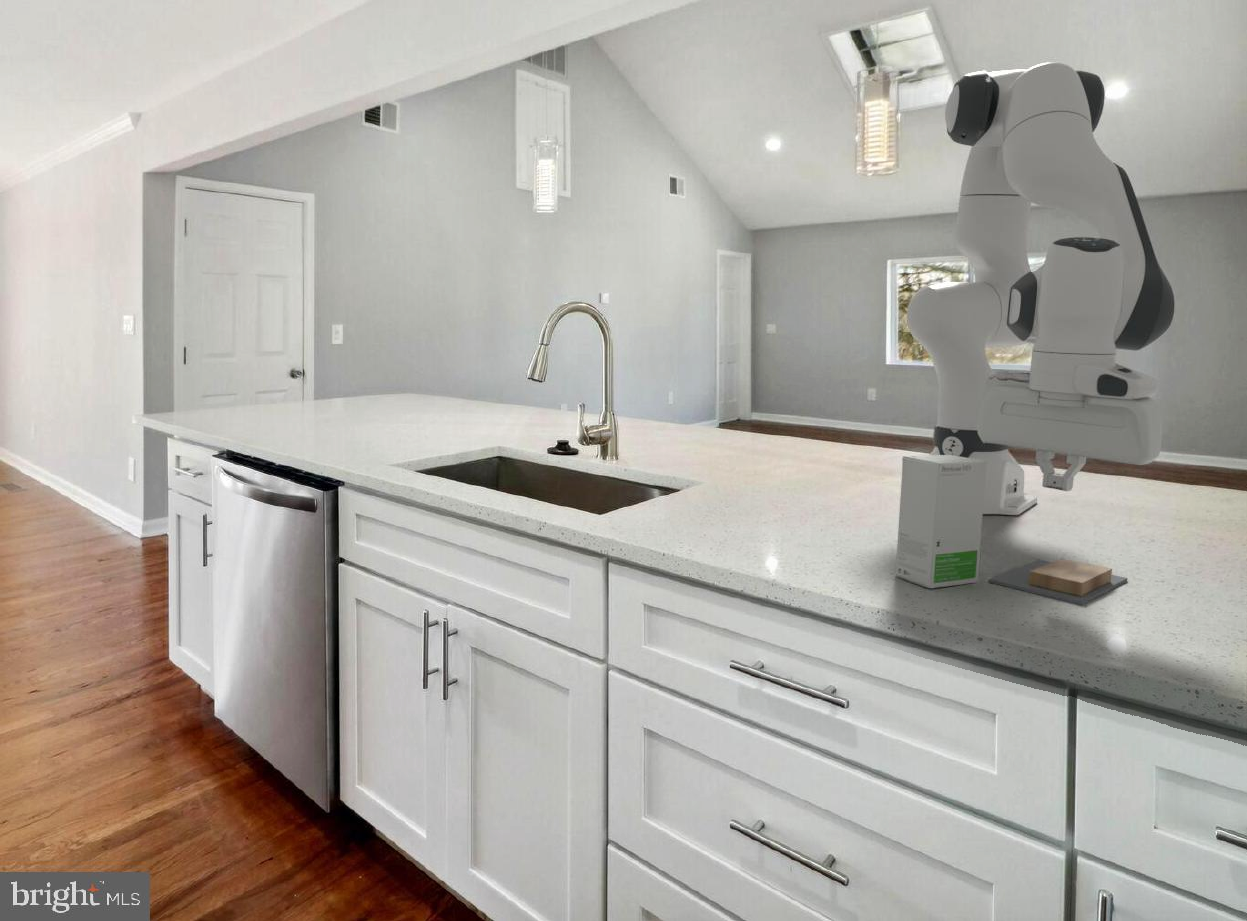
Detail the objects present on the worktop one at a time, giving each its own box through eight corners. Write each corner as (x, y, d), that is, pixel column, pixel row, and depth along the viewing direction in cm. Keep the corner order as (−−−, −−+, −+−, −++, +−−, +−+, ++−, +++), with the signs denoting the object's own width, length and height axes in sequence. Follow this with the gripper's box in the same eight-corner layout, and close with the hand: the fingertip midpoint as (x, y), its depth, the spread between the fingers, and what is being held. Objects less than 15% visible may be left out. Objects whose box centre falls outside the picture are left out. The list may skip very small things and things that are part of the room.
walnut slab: (1061, 558, 106) (1112, 568, 102) (1060, 571, 106) (1110, 582, 102) (1029, 571, 100) (1082, 582, 96) (1028, 584, 101) (1080, 596, 96)
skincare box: (929, 590, 100) (937, 463, 97) (891, 575, 106) (898, 455, 103) (980, 582, 103) (990, 459, 100) (941, 568, 109) (949, 451, 106)
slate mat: (1037, 562, 112) (1038, 559, 112) (1127, 581, 104) (1127, 578, 104) (988, 581, 103) (988, 578, 103) (1081, 604, 95) (1081, 601, 95)
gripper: (974, 371, 105) (963, 477, 107) (1154, 385, 89) (1137, 509, 92) (998, 368, 109) (987, 471, 111) (1175, 382, 93) (1158, 500, 96)
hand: (1057, 488), depth 102 cm, fingers closed
